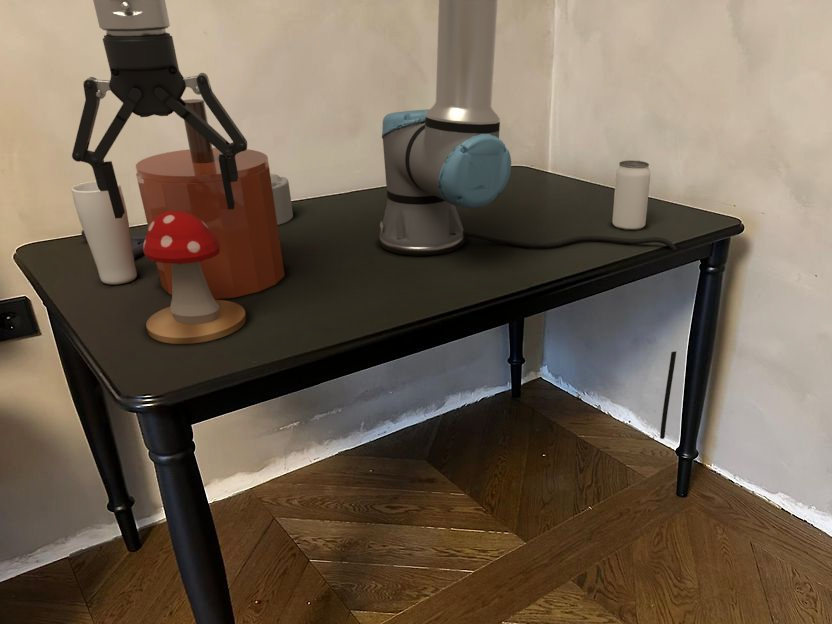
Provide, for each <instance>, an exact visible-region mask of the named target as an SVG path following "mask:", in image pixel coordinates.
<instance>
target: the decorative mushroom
mask: <svg viewBox="0 0 832 624" xmlns="http://www.w3.org/2000/svg"><path fill="white" fill-rule="evenodd" d="M145 235H146V238H145V241H144V247H143V252H144V254H143V255H144V257H145V258H146V259H147V260H150V261H152V262H154V263H156V262H159V263H165V264H171V272H172V295H171V301H170V306H169V307H170V312H171V314H172V315H173V317H174V318H175V320H176V321H178V322H180V323H185V324H202V323H207V322H211V321H213V320H215V319H216V318H217V317H218V313H219V305H218V304H217V302H216V301H215V300H216V299H214V298H213V296H212V294H211V292H210V290H209V287H208V285H207V282H206V279H205V277H204V274H203V272H202V269H201V266H200V263H199V262H201V261H205V260H207V259H210V258H212V257H214V256H216V255H217V254H219V253H220V244H219V242H218V240H217V238H216V237H215V235H214V234H213V233H212V232H211V231H210V230H209V228H208V227H207V225H206V224H205V223H204V222H203V221H201V220H200V219H199V218H197V217H196V216H194V215H192V214H190V213H187V212H183V211H169V212H165V213H163V214H161V215H159V216H157V217H156V218H155V219H154V220H153V221H152V222H151V224H150V225H149V228H148V227H147V233H146V234H145Z"/></svg>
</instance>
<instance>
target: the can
mask: <svg viewBox="0 0 832 624" xmlns="http://www.w3.org/2000/svg"><path fill="white" fill-rule="evenodd" d="M618 164H619V165H618V167H617V169H616V172H615V183H614V196H613V208H612V222H611V223H612V225H613V227H615V228H617V229H619V230H625V231H638V230H641V229H643V228H644V227H645V226H646V220H647V213H648V204H649V192H650V182H651V171H650V168H649V166H650V164H649V163H648V162H647V161H643V160H635V159H634V160H629V159H628V160H622V161H619V163H618Z"/></svg>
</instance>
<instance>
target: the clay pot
mask: <svg viewBox="0 0 832 624" xmlns="http://www.w3.org/2000/svg"><path fill="white" fill-rule="evenodd" d="M182 100H183V101H185V102H186V103H187V104H188V105H189V106H190V107H191V109H192V110H193V111H195V112H196V113H197V114H198V115H199V116H200V117H201V118H202V119H203V120H205V121H206V122H207V123H208V124H209V121H208V115H207V114H208V113H207V110H206V103H205V101H204V100H203V99H201V98H200V99H199V98H191V99H182ZM183 122H184V127H185V133H186V138H187V143H188V148H189V149H180V150H174V151H173V150H172V151H168V152H162V153H158V154H154V155H151V156H148V157H145V158H143V159H141V160H139V161H138V162H137V163H136V164H135V171H136V174H135V176H136V181H137V184H138V185H137V186H138V190H139V193H140V198H141V202H142V206H143V211H144V215H145V220H146V224H147V229H148V228H149V225H150V224H151V222H152V221H153V220H154V219H155V218H156V217H157V216H159V215H161V214H163V213H165V212H169V211H183V212H187V213H190V214H192V215H194V216H196V217H197V218H199V219H200V220H201V221H203V222H204V223H205V224H206V225H207V227H208V228H209V230H210V231H211V232H212V233H213V234H214V235H215V237H216V238H217V240H218V242H219V244H220V253H219V254H217V255H216V256H214V257H212V258H210V259H207V260H205V261H201V262H199V263H200V266H201V269H202V272H203V274H204V277H205V279H206V282H207V285H208V287H209V290H210V292H211V294H212V296H213V298H214V299H215V300H224V299H232V298H233V299H234V298H238V297H243V296H248V295H252V294H256V293H260V292H262V291H264V290H266V289H269V288H271V287H273V286H275V285H277V284H278V283H279V282H280V281H281V280H283V278H284V277H285V274H286V273H285V265H284V259H283V252H282V246H281V244H282V243H281V237H280V230H279V225H278V223H277V216H276V209H275V202H274V195H273V188H272V181H271V174H272V173H271V169H270V167H271V166H270V162H269V157H268V155H267V154H266V153H264V152H261V151H258V150H254V149H248V148H247V149H246V150H245V151H242V152H239V153H237V154H236V155H235V159H236V165H237V171H238V180H237V182H231V187H232V192H233V198H234V203H235V204H234V209H228V206H227V201H226V196H225V191H224V185H223V180H222V175H221V170H220V164H219V154H222V153H221V152H220V151H219V150H218V149H217V148H216V147H213V145H212V144H211V143H210V142H209V141H208V140H207V139H205V138H204V137H203V136H202V135H201V134H200V133H199V132H198V131H196V130H195V129H194V128H193V127H192V126H191V125H190V124H189V123H187V122H186V121H185V120H184V119H183ZM270 173H271V174H270ZM155 264H156V268H157V272H158V276H159V281H160V285H161V287H162V289H163V290H164V291H165V292H167V293H168V294H169V295H171V296H172V272H171V264H165V263H159V262H155Z"/></svg>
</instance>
